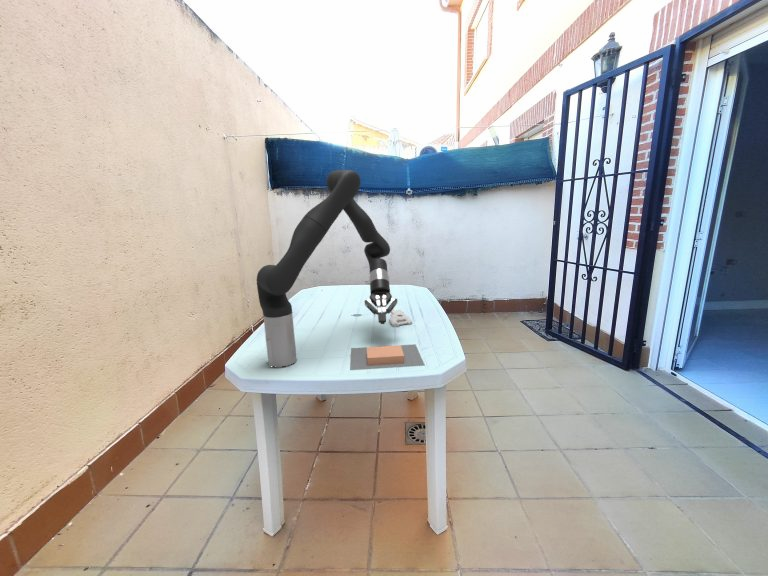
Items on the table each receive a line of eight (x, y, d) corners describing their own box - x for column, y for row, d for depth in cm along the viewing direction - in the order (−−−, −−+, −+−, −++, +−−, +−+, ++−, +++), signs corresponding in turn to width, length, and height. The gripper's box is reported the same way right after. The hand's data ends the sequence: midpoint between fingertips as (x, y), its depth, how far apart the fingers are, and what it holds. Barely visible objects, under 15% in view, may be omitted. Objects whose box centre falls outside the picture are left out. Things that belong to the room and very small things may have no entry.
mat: (350, 371, 108) (349, 370, 108) (351, 349, 126) (351, 348, 126) (424, 366, 110) (424, 365, 110) (415, 345, 127) (415, 344, 127)
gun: (383, 309, 163) (403, 307, 166) (383, 316, 164) (403, 314, 167) (393, 322, 146) (415, 320, 149) (393, 330, 147) (415, 327, 150)
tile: (367, 354, 120) (367, 365, 111) (366, 347, 119) (367, 358, 111) (400, 351, 121) (404, 362, 112) (400, 345, 120) (404, 355, 111)
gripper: (362, 278, 129) (364, 319, 120) (396, 276, 130) (401, 317, 121) (362, 289, 136) (364, 328, 126) (395, 287, 136) (400, 326, 127)
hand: (382, 323), depth 124 cm, fingers closed
